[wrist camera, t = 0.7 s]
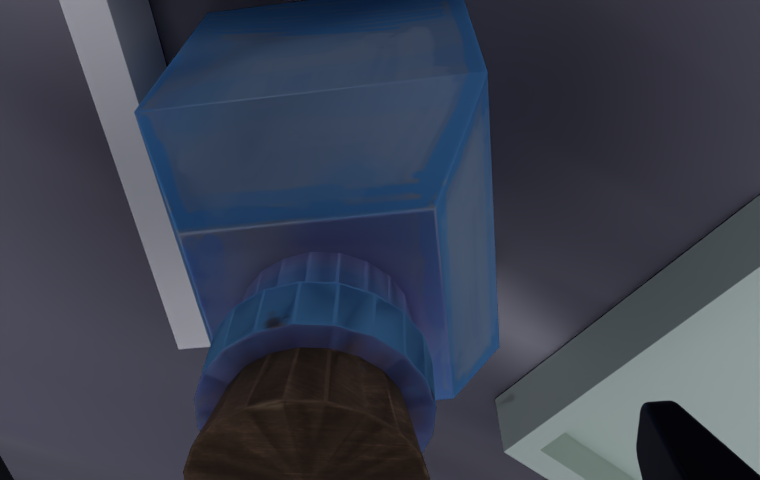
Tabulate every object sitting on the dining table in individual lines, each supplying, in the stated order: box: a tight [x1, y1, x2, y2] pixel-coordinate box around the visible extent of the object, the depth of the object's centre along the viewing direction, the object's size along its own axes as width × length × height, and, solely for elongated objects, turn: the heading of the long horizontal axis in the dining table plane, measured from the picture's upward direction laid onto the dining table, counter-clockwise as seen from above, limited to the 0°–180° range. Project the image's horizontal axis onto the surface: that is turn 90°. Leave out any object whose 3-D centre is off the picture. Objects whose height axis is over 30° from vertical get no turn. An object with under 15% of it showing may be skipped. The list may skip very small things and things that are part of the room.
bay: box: [59, 0, 210, 349], centre depth 18 cm, size 11×9×2 cm
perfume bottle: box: [134, 0, 499, 480], centre depth 14 cm, size 6×6×12 cm
